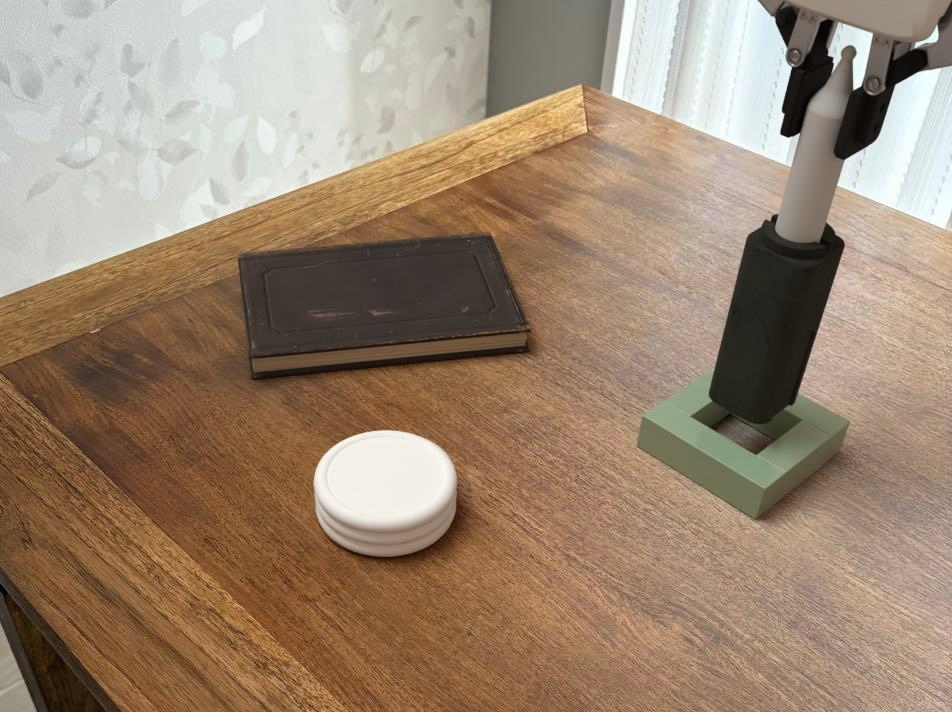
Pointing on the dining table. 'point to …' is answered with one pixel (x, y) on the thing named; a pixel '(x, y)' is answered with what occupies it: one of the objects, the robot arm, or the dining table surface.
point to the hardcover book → (378, 304)
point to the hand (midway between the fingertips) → (825, 137)
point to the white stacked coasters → (385, 493)
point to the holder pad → (728, 464)
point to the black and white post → (786, 271)
